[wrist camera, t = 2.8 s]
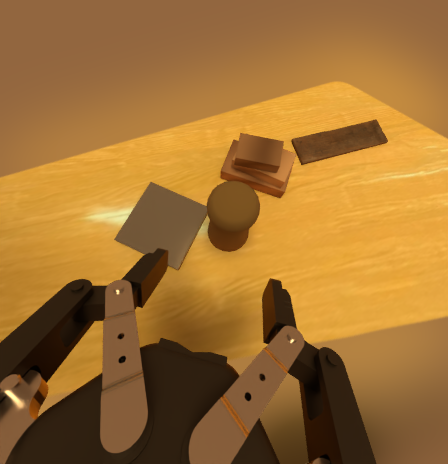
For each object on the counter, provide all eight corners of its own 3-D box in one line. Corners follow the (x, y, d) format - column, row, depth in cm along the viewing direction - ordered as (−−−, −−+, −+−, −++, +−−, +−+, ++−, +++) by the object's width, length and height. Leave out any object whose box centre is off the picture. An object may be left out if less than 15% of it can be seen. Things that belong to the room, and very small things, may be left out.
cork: (199, 227, 27) (187, 193, 16) (231, 204, 28) (240, 159, 17) (224, 260, 26) (228, 246, 15) (256, 235, 27) (282, 206, 16)
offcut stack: (220, 178, 29) (221, 155, 24) (232, 147, 31) (235, 120, 25) (280, 197, 28) (294, 179, 23) (289, 166, 30) (304, 142, 25)
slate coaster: (116, 240, 26) (114, 239, 25) (152, 183, 28) (150, 181, 28) (178, 269, 25) (177, 269, 25) (209, 209, 28) (209, 207, 27)
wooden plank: (303, 162, 29) (292, 136, 30) (300, 166, 31) (289, 141, 32) (389, 141, 32) (376, 117, 32) (382, 146, 33) (370, 123, 34)
